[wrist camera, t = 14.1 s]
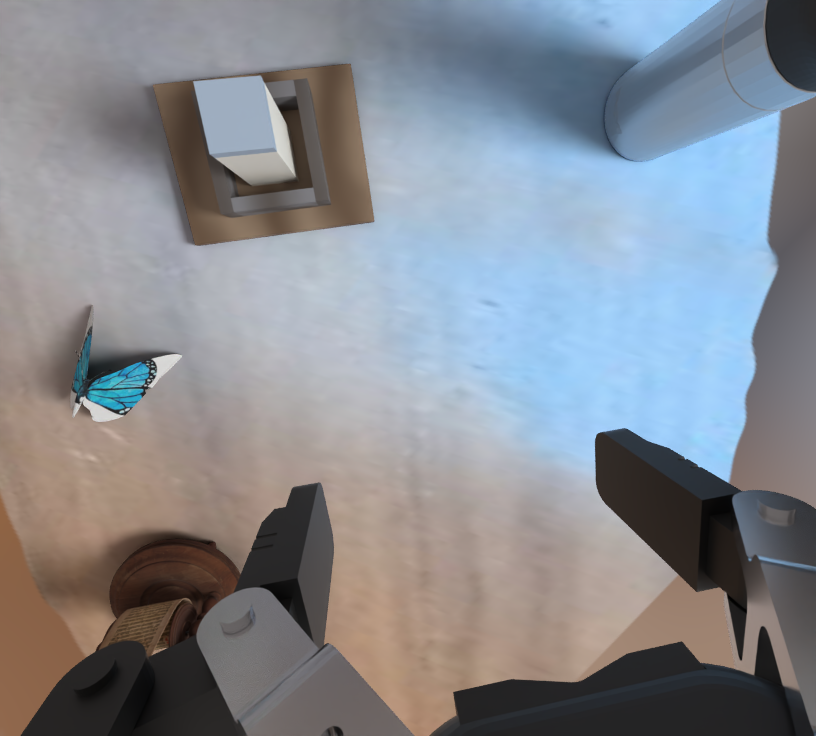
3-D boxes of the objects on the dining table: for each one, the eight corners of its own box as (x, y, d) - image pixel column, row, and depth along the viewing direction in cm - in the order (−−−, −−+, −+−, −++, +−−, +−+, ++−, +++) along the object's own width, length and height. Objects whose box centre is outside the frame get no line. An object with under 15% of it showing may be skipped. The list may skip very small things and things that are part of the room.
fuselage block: (289, 130, 38) (260, 75, 27) (298, 181, 39) (273, 147, 28) (241, 135, 37) (193, 81, 27) (252, 186, 38) (209, 154, 28)
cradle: (351, 68, 38) (349, 45, 34) (374, 222, 41) (375, 216, 38) (158, 89, 37) (134, 68, 33) (199, 245, 40) (181, 243, 36)
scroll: (230, 519, 48) (139, 688, 29) (260, 616, 52) (198, 823, 32) (104, 544, 47) (-78, 736, 28) (144, 641, 51) (9, 869, 31)
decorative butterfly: (15, 401, 38) (37, 322, 35) (69, 372, 44) (93, 301, 41) (116, 451, 41) (147, 382, 37) (155, 417, 47) (185, 354, 43)
